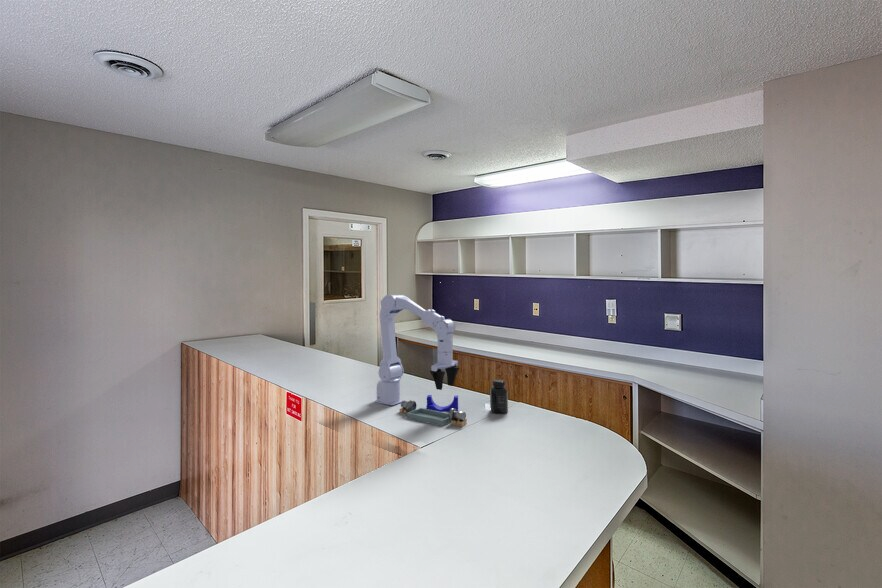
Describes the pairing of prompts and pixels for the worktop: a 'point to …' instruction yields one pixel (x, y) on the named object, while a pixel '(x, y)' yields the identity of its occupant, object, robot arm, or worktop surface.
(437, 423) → the grey-blue rectangular tray
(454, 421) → the shaft
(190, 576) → the worktop surface
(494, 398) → the supplement bottle
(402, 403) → the shaft
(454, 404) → the blue bearing cap
